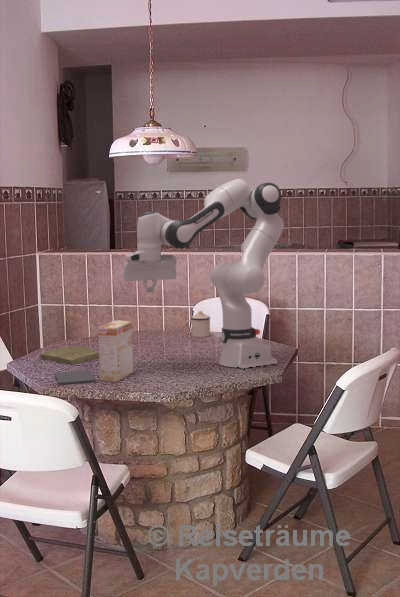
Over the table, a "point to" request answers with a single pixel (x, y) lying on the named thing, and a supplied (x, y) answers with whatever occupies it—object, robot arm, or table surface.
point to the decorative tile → (71, 355)
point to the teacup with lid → (199, 325)
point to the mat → (75, 377)
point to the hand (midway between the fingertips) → (149, 292)
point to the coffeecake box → (115, 350)
